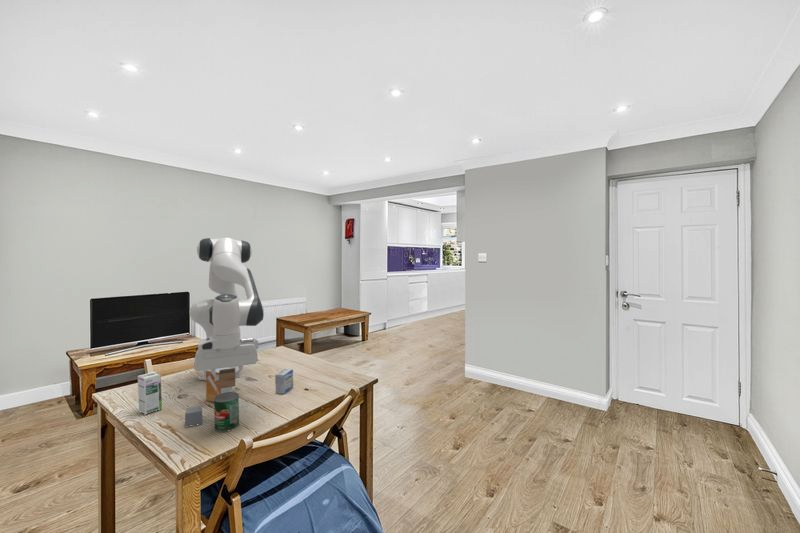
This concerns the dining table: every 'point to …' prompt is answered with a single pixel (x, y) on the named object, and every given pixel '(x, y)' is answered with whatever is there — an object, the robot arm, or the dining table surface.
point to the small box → (214, 386)
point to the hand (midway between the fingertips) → (227, 379)
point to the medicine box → (284, 381)
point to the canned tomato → (226, 411)
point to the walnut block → (226, 378)
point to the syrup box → (149, 392)
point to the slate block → (193, 416)
